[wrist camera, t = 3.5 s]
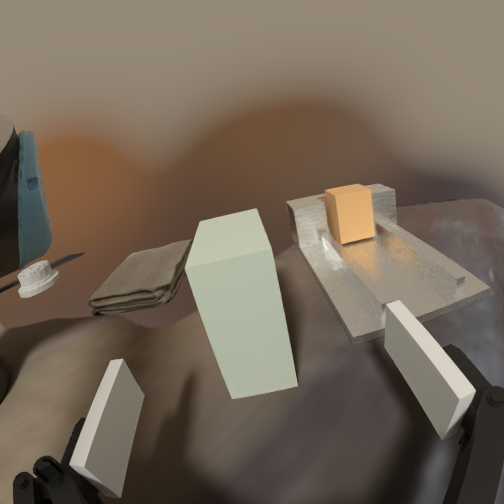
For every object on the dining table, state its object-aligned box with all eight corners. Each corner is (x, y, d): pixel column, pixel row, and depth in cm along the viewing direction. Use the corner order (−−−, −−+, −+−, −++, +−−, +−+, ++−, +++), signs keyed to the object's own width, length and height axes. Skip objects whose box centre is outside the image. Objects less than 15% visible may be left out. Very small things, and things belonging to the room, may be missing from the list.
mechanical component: (58, 272, 57) (21, 291, 51) (50, 253, 55) (13, 272, 50) (63, 282, 50) (21, 304, 44) (54, 261, 48) (11, 283, 42)
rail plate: (353, 345, 21) (349, 277, 19) (293, 240, 44) (286, 201, 42) (488, 295, 21) (496, 234, 19) (381, 221, 44) (378, 183, 41)
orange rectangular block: (341, 244, 36) (335, 195, 34) (331, 234, 40) (324, 189, 38) (374, 236, 36) (370, 189, 34) (362, 227, 40) (357, 183, 38)
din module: (232, 399, 19) (184, 267, 16) (230, 326, 28) (200, 221, 24) (298, 386, 19) (271, 248, 15) (279, 315, 27) (256, 208, 24)
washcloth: (90, 321, 34) (80, 300, 33) (134, 264, 51) (128, 248, 50) (173, 309, 33) (164, 285, 32) (198, 250, 50) (193, 233, 49)
